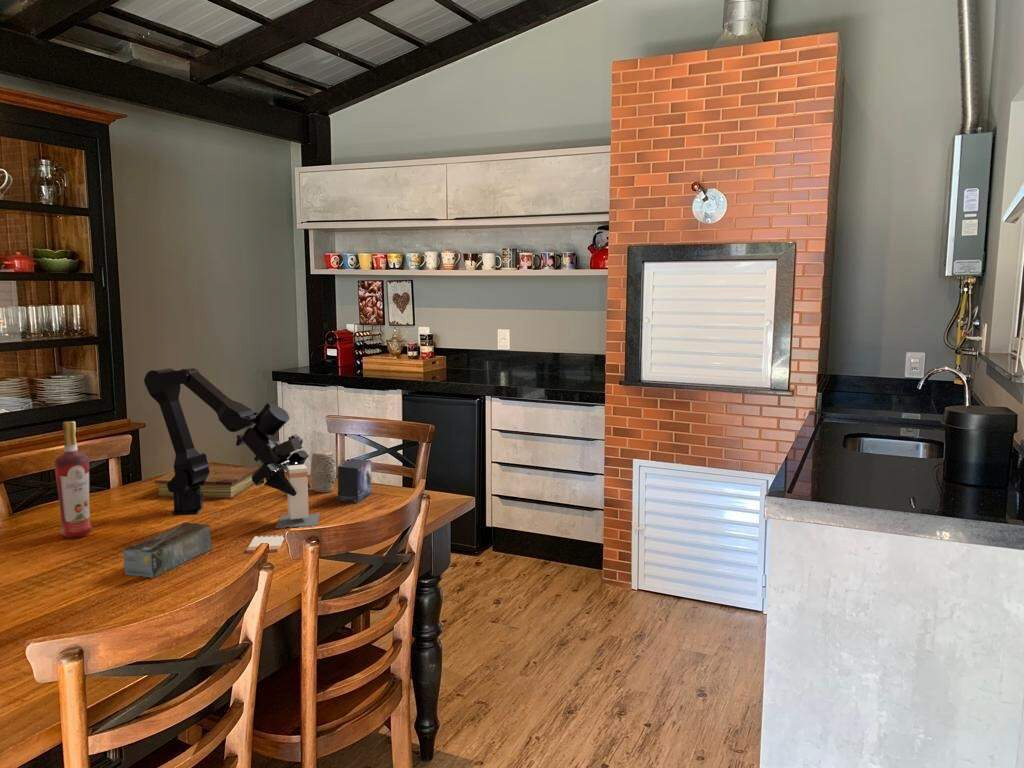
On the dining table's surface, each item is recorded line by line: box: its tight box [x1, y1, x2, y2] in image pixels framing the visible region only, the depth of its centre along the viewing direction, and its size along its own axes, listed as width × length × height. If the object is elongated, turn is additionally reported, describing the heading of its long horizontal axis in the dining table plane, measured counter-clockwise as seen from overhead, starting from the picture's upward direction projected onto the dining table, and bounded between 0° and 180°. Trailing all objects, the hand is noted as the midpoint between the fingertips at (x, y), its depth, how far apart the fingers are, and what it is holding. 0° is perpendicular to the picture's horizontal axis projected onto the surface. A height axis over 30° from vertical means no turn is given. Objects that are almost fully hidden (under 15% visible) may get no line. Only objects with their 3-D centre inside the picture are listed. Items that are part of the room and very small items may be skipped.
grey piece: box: [122, 522, 213, 579], centre depth 169 cm, size 8×19×7 cm, turn 163°
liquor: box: [53, 420, 93, 539], centre depth 184 cm, size 7×7×28 cm
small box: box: [337, 458, 372, 504], centre depth 220 cm, size 11×6×10 cm, turn 168°
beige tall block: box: [286, 463, 310, 519], centre depth 197 cm, size 5×5×13 cm
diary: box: [154, 465, 259, 500], centre depth 228 cm, size 23×19×6 cm
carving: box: [309, 449, 337, 493], centre depth 227 cm, size 6×8×12 cm
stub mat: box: [274, 513, 321, 529], centre depth 198 cm, size 10×10×1 cm
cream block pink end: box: [245, 534, 285, 554], centre depth 180 cm, size 10×7×1 cm
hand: (302, 491), depth 197 cm, fingers closed on beige tall block, 6 cm apart
